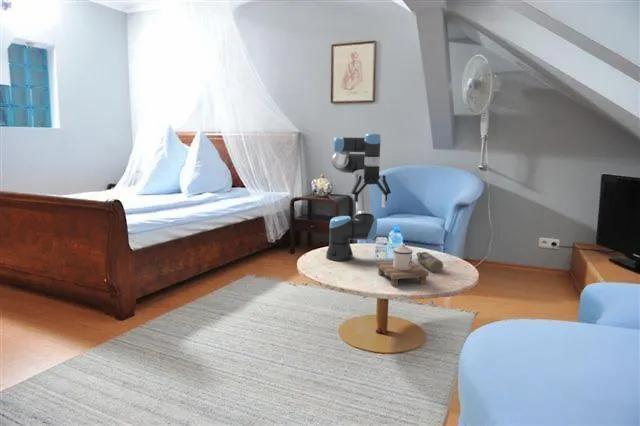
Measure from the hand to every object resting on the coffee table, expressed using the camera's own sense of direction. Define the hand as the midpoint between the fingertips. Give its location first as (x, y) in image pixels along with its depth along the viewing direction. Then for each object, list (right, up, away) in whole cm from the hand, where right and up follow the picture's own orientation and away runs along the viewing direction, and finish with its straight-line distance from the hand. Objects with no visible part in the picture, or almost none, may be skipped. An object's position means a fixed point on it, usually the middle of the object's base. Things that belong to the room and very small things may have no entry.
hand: (370, 208), depth 216 cm
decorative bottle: (+33, -31, +15) cm, 48 cm away
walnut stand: (+14, -35, -7) cm, 38 cm away
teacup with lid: (+14, -29, -8) cm, 33 cm away
